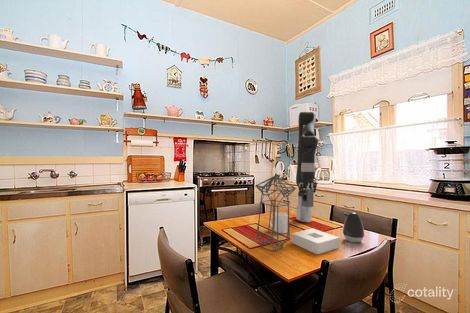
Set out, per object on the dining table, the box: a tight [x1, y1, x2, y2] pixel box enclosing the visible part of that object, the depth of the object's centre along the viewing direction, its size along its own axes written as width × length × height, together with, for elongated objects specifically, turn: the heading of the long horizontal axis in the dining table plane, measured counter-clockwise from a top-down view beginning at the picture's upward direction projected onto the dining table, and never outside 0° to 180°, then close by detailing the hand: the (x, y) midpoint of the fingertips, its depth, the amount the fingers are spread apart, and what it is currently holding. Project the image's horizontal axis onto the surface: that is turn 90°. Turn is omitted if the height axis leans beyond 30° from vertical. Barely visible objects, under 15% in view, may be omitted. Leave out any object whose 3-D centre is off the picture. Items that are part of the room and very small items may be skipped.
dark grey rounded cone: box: [342, 211, 365, 244], centre depth 123 cm, size 10×10×15 cm
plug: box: [302, 188, 315, 208], centre depth 132 cm, size 4×4×10 cm
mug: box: [267, 211, 288, 235], centre depth 137 cm, size 12×8×10 cm
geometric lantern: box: [254, 175, 297, 252], centre depth 112 cm, size 16×16×35 cm
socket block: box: [291, 228, 340, 255], centre depth 116 cm, size 16×16×5 cm
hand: (307, 200), depth 132 cm, fingers closed on plug, 4 cm apart
